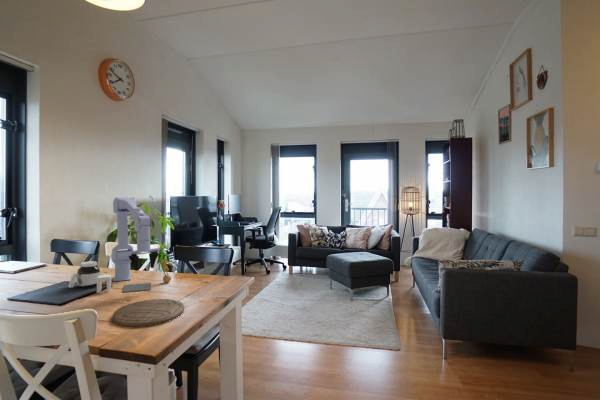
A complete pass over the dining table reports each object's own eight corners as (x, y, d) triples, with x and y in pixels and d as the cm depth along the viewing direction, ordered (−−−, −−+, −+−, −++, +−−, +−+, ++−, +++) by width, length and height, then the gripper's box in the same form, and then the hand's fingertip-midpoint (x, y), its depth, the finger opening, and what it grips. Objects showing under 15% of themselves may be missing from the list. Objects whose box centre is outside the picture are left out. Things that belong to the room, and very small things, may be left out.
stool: (98, 289, 149) (98, 275, 149) (111, 288, 152) (111, 274, 152) (96, 293, 145) (96, 278, 145) (109, 291, 147) (110, 277, 147)
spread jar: (102, 285, 157) (103, 262, 156) (78, 291, 146) (79, 266, 146) (87, 282, 162) (88, 259, 161) (63, 287, 151) (64, 263, 151)
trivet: (131, 303, 134) (131, 298, 134) (191, 303, 136) (191, 299, 136) (98, 328, 109) (98, 322, 109) (171, 327, 111) (172, 322, 111)
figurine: (162, 284, 160) (162, 261, 160) (154, 283, 163) (155, 260, 163) (176, 281, 167) (176, 259, 167) (169, 279, 170) (169, 257, 170)
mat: (124, 285, 157) (124, 284, 157) (151, 283, 162) (151, 282, 162) (122, 292, 146) (122, 291, 146) (150, 290, 151) (150, 289, 151)
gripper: (132, 242, 142) (132, 272, 142) (162, 239, 154) (163, 267, 153) (124, 242, 147) (125, 271, 146) (154, 239, 158) (155, 266, 157)
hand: (144, 269), depth 150 cm, fingers open, 7 cm apart
